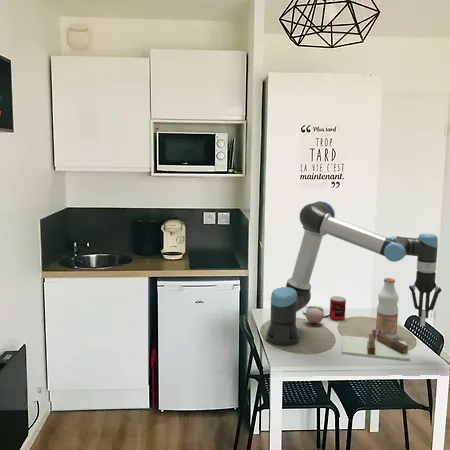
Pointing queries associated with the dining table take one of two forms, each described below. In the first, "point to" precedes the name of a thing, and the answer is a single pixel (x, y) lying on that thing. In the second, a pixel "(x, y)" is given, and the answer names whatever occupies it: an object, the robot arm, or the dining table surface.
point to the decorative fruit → (314, 314)
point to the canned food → (337, 308)
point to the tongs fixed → (371, 343)
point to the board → (360, 348)
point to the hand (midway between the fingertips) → (422, 325)
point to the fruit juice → (387, 310)
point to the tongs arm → (392, 343)
